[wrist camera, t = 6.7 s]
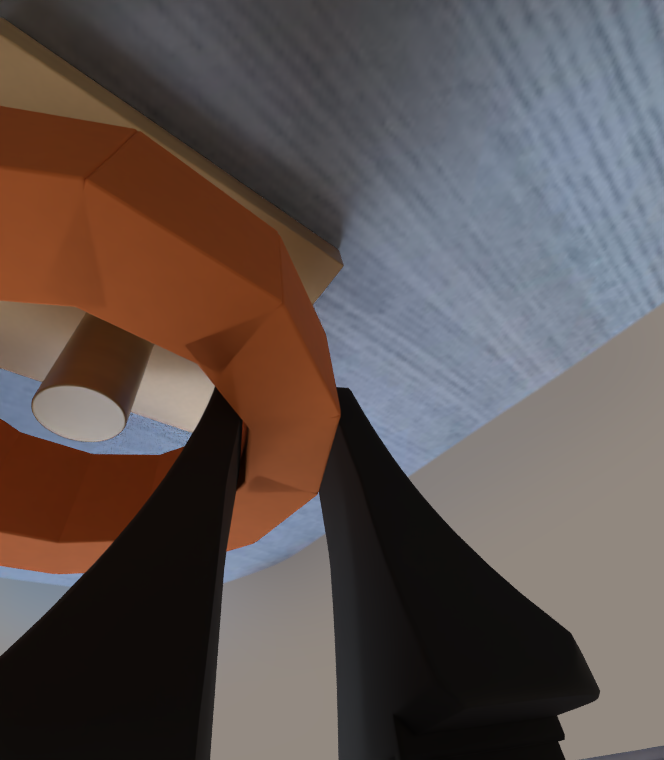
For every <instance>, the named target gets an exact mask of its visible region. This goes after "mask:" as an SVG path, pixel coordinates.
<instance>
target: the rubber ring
mask: <svg viewBox="0 0 664 760" xmlns="http://www.w3.org/2000/svg"><path fill="white" fill-rule="evenodd" d="M0 301H9V302H22V303H34V304H46V305H59V306H71V307H77V308H79V309H81V310H83V311H85V312H87V313H89V314H92V315H94V316H96V317H98V318H100V319H102V320H104V321H106V322H109V323H111V324H113V325H115V326H117V327H119V328H121V329H124V330H126V331H128V332H130V333H132V334H134V335H136V336H138V337H141V338H143V339H145V340H147V341H149V342H151V343H153V344H156V345H158V346H160V347H162V348H164V349H166V350H168V351H170V352H173V353H175V354H177V355H179V356H181V357H183V358H185V359H188V360H190V361H192V362H194V363H196V364H198V366H199V367H200V368H201V369H202V371H203V372H204V373H205V374H206V376H207V377H208V378H209V379H210V381H211V382H212V383H213V384H214V386H215V387H216V388H217V389H218V390H219V392H220V393H221V394H222V395H223V397H224V398H225V399H226V400H227V402H228V403H229V404H230V405H231V407H232V408H233V409H234V410H235V412H236V413H237V414H238V415H239V417H240V418H241V419H242V420H243V424H242V440H241V456H240V470H239V476H238V482H237V489H236V496H235V502H234V508H233V514H232V520H231V526H230V532H229V538H228V544H227V550H226V551H230V550H233V549H237V548H240V547H243V546H247V545H250V544H253V543H255V542H257V541H258V540H259V539H261V538H262V537H263V536H264V535H266V534H267V533H268V532H270V531H271V530H272V529H273V528H275V527H276V526H277V525H279V524H280V523H281V522H283V521H284V520H285V519H286V518H288V517H289V516H290V515H292V514H293V513H294V512H295V511H297V510H298V509H299V508H301V507H302V506H303V505H304V504H306V503H307V502H308V501H310V500H311V499H312V498H314V497H315V496H316V495H317V494H318V492H319V489H320V485H321V482H322V478H323V475H324V471H325V468H326V464H327V461H328V457H329V454H330V451H331V447H332V444H333V440H334V437H335V433H336V430H337V426H338V423H339V420H340V416H341V414H340V413H341V410H340V405H339V400H338V394H337V389H336V384H335V379H334V374H333V368H332V363H331V358H330V353H329V348H328V342H327V337H326V334H325V331H324V329H323V327H322V325H321V323H320V321H319V318H318V316H317V314H316V312H315V310H314V308H313V305H312V303H311V301H310V299H309V297H308V295H307V292H306V290H305V288H304V286H303V284H302V282H301V279H300V277H299V275H298V273H297V271H296V269H295V266H294V264H293V262H292V260H291V258H290V256H289V253H288V251H287V249H286V247H285V245H284V242H283V240H282V238H281V236H280V235H279V234H278V232H277V231H276V230H275V229H274V228H272V227H271V226H270V225H268V224H267V223H266V222H264V221H263V220H261V219H260V218H259V217H257V216H256V215H255V214H253V213H252V212H251V211H249V210H248V209H246V208H245V207H244V206H242V205H241V204H240V203H238V202H237V201H235V200H234V199H233V198H231V197H230V196H229V195H227V194H226V193H225V192H223V191H222V190H220V189H219V188H218V187H216V186H215V185H214V184H212V183H211V182H210V181H208V180H207V179H205V178H204V177H203V176H201V175H200V174H199V173H197V172H196V171H195V170H193V169H192V168H190V167H189V166H188V165H186V164H185V163H184V162H182V161H181V160H180V159H178V158H177V157H175V156H174V155H173V154H171V153H170V152H169V151H167V150H166V149H164V148H163V147H162V146H160V145H159V144H158V143H156V142H155V141H154V140H152V139H151V138H149V137H148V136H147V135H145V134H144V133H143V132H141V131H137V130H136V129H133V128H127V127H122V126H116V125H110V124H104V123H98V122H92V121H87V120H81V119H75V118H69V117H63V116H57V115H51V114H46V113H40V112H34V111H28V110H22V109H16V108H11V107H5V106H0ZM184 447H185V446H184ZM184 447H181V448H179V449H176V450H173V451H170V452H167V453H164V454H161V455H117V454H90V453H87V452H84V451H80V450H77V449H74V448H71V447H67V446H64V445H61V444H57V443H54V442H51V441H47V440H44V439H41V438H37V437H34V436H31V435H27V434H24V433H21V432H19V431H18V430H16V429H15V428H14V427H12V426H11V425H9V424H8V423H6V422H5V421H3V420H2V419H0V566H5V567H12V568H18V569H25V570H32V571H38V572H45V573H52V574H56V573H57V574H72V573H85V572H86V571H87V570H88V569H89V568H90V567H91V566H92V565H93V564H94V563H95V562H96V561H97V560H98V559H99V557H100V556H101V555H102V554H103V553H104V552H105V551H106V550H107V549H108V547H109V546H110V545H111V544H112V543H113V542H114V540H115V539H116V538H117V537H118V536H119V535H120V533H121V532H122V531H123V530H124V529H125V527H126V526H127V525H128V524H129V523H130V522H131V520H132V519H133V518H134V517H135V516H136V514H137V513H138V512H139V510H140V509H141V508H142V507H143V505H144V504H145V503H146V502H147V500H148V499H149V498H150V496H151V495H152V494H153V492H154V491H155V490H156V488H157V487H158V485H159V484H160V483H161V481H162V480H163V479H164V477H165V476H166V474H167V473H168V471H169V470H170V468H171V467H172V465H173V464H174V462H175V461H176V459H177V458H178V456H179V455H180V453H181V452H182V450H183V448H184Z"/></svg>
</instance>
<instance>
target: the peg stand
mask: <svg viewBox="0 0 664 760" xmlns="http://www.w3.org/2000/svg"><path fill="white" fill-rule="evenodd" d="M0 106H5V107H11V108H16V109H22V110H28V111H34V112H40V113H46V114H51V115H57V116H63V117H69V118H75V119H81V120H87V121H92V122H98V123H104V124H110V125H116V126H122V127H127V128H133V129H136V130H137V131H141V132H143V133H144V134H145V135H147V136H148V137H149V138H151V139H152V140H154V141H155V142H156V143H158V144H159V145H160V146H162V147H163V148H164V149H166V150H167V151H169V152H170V153H171V154H173V155H174V156H175V157H177V158H178V159H180V160H181V161H182V162H184V163H185V164H186V165H188V166H189V167H190V168H192V169H193V170H195V171H196V172H197V173H199V174H200V175H201V176H203V177H204V178H205V179H207V180H208V181H210V182H211V183H212V184H214V185H215V186H216V187H218V188H219V189H220V190H222V191H223V192H225V193H226V194H227V195H229V196H230V197H231V198H233V199H234V200H235V201H237V202H238V203H240V204H241V205H242V206H244V207H245V208H246V209H248V210H249V211H251V212H252V213H253V214H255V215H256V216H257V217H259V218H260V219H261V220H263V221H264V222H266V223H267V224H268V225H270V226H271V227H272V228H274V229H275V230H276V231H277V232H278V234H279V235H280V236H281V238H282V240H283V242H284V245H285V247H286V249H287V251H288V253H289V256H290V258H291V260H292V262H293V264H294V266H295V269H296V271H297V273H298V275H299V277H300V279H301V282H302V284H303V286H304V288H305V290H306V292H307V295H308V297H309V299H310V301H311V303H312V305H313V304H314V303H315V301H316V300H317V299H318V298H319V296H320V295H321V294H322V293H323V291H324V290H325V289H326V288H327V286H328V285H329V284H330V282H331V281H332V280H333V279H334V277H335V276H336V275H337V274H338V272H339V271H340V270H341V269H342V267H343V261H342V258H341V255H340V252H339V250H338V249H336V248H335V247H334V246H332V245H331V244H329V243H328V242H326V241H325V240H323V239H322V238H321V237H319V236H318V235H316V234H315V233H313V232H312V231H310V230H309V229H308V228H306V227H305V226H303V225H302V224H300V223H299V222H297V221H296V220H295V219H293V218H292V217H290V216H289V215H287V214H286V213H284V212H283V211H281V210H280V209H279V208H277V207H276V206H274V205H273V204H271V203H270V202H268V201H267V200H266V199H264V198H263V197H261V196H260V195H258V194H257V193H255V192H254V191H253V190H251V189H250V188H248V187H247V186H245V185H244V184H242V183H241V182H240V181H238V180H237V179H235V178H234V177H232V176H231V175H229V174H228V173H227V172H225V171H224V170H222V169H221V168H219V167H218V166H216V165H215V164H214V163H212V162H211V161H209V160H208V159H206V158H205V157H203V156H202V155H200V154H199V153H198V152H196V151H195V150H193V149H192V148H190V147H189V146H187V145H186V144H185V143H183V142H182V141H180V140H179V139H177V138H176V137H174V136H173V135H172V134H170V133H169V132H167V131H166V130H164V129H163V128H161V127H160V126H159V125H157V124H156V123H154V122H153V121H151V120H150V119H148V118H147V117H146V116H144V115H143V114H141V113H140V112H138V111H137V110H135V109H134V108H132V107H131V106H130V105H128V104H127V103H125V102H124V101H122V100H121V99H119V98H118V97H117V96H115V95H114V94H112V93H111V92H109V91H108V90H106V89H105V88H104V87H102V86H101V85H99V84H98V83H96V82H95V81H93V80H92V79H91V78H89V77H88V76H86V75H85V74H83V73H82V72H80V71H79V70H78V69H76V68H75V67H73V66H72V65H70V64H69V63H67V62H66V61H64V60H63V59H62V58H60V57H59V56H57V55H56V54H54V53H53V52H51V51H50V50H49V49H47V48H46V47H44V46H43V45H41V44H40V43H38V42H37V41H36V40H34V39H33V38H31V37H30V36H28V35H27V34H25V33H24V32H23V31H21V30H20V29H18V28H17V27H15V26H14V25H12V24H11V23H10V22H8V21H7V20H5V19H4V18H0ZM0 368H1V369H4V370H7V371H10V372H13V373H16V374H19V375H22V376H25V377H28V378H31V379H34V380H37V381H40V382H42V384H41V385H40V387H39V389H38V390H37V392H36V393H35V395H34V397H33V399H32V404H31V407H32V412H33V414H34V416H35V418H36V419H37V420H38V421H39V423H40V424H42V425H43V426H44V427H45V428H47V429H48V430H50V431H51V432H53V433H55V434H57V435H59V436H62V437H65V438H68V439H71V440H76V441H83V442H99V441H104V440H108V439H111V438H113V437H115V436H117V435H118V434H120V433H121V432H122V431H123V429H124V428H125V426H126V423H127V421H128V418H129V415H130V412H132V413H135V414H138V415H141V416H144V417H147V418H150V419H153V420H156V421H159V422H162V423H165V424H167V425H170V426H173V427H176V428H179V429H182V430H185V431H188V432H191V433H193V431H194V430H195V428H196V426H197V424H198V423H199V421H200V419H201V417H202V415H203V413H204V411H205V409H206V407H207V405H208V403H209V400H210V398H211V396H212V393H213V390H214V387H215V386H214V384H213V383H212V382H211V381H210V379H209V378H208V377H207V376H206V374H205V373H204V372H203V371H202V369H201V368H200V367H199V366H198V364H196V363H194V362H192V361H190V360H188V359H185V358H183V357H181V356H179V355H177V354H175V353H173V352H170V351H168V350H166V349H164V348H162V347H160V346H158V345H156V344H153V343H151V342H149V341H147V340H145V339H143V338H141V337H138V336H136V335H134V334H132V333H130V332H128V331H126V330H124V329H121V328H119V327H117V326H115V325H113V324H111V323H109V322H106V321H104V320H102V319H100V318H98V317H96V316H94V315H92V314H89V313H87V312H85V311H83V310H81V309H79V308H77V307H71V306H59V305H46V304H34V303H22V302H9V301H0Z"/></svg>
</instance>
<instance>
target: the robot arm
mask: <svg viewBox="0 0 664 760" xmlns="http://www.w3.org/2000/svg"><path fill="white" fill-rule="evenodd" d="M336 389H337V394H338V400H339V405H340V410H341V413H340V414H341V416H340V420H339V423H338V426H337V430H336V433H335V437H334V440H333V444H332V447H331V451H330V454H329V457H328V461H327V464H326V468H325V471H324V475H323V478H322V482H321V485H320V489H319V495H320V501H321V507H322V514H323V520H324V526H325V532H326V537H327V544H328V551H329V559H330V568H331V583H332V597H333V614H334V632H335V653H336V675H337V706H338V707H337V709H338V753H339V754H338V755H339V760H565V758H564V755H563V753H562V750H561V748H560V745H559V743H558V741H562V740H564V739H565V734H564V732H563V729H562V727H561V724H560V722H559V720H558V717H557V715H559V714H562V713H565V712H568V711H570V710H573V709H576V708H578V707H581V706H584V705H586V704H589V703H591V702H593V701H595V700H596V699H598V697H599V694H600V690H599V687H598V685H597V683H596V681H595V679H594V677H593V675H592V673H591V671H590V669H589V667H588V665H587V663H586V661H585V658H584V656H583V654H582V653H581V651H580V649H579V647H578V645H577V644H576V641H575V640H574V638H573V636H572V634H571V633H570V632H569V631H568V630H566V629H565V628H564V627H563V626H561V625H560V624H559V623H557V622H556V621H555V620H554V619H552V618H551V617H550V616H549V615H548V614H546V613H545V612H544V611H543V610H541V609H540V608H539V607H537V606H536V605H535V604H534V603H532V602H531V601H530V600H529V599H527V598H526V597H525V596H524V595H522V594H521V593H520V592H519V591H518V590H517V589H515V588H514V587H513V586H512V585H511V584H510V583H509V582H507V581H506V580H505V579H504V578H503V577H502V576H500V575H499V574H498V573H497V572H496V571H495V570H494V569H493V568H491V567H490V566H489V565H488V564H487V563H486V562H485V561H484V560H483V559H482V558H481V557H480V556H479V555H478V554H477V553H476V552H475V551H474V550H473V549H472V548H471V547H470V546H469V545H468V544H467V543H465V541H464V540H463V539H461V538H460V537H459V536H458V535H457V534H456V533H455V532H454V531H453V530H452V528H451V527H450V526H449V525H448V524H447V523H446V522H445V521H444V520H443V519H442V518H441V517H440V516H439V514H438V513H437V512H436V511H435V510H434V509H433V508H432V506H431V505H430V504H429V503H428V502H427V501H426V500H425V498H424V497H423V496H422V495H421V494H420V492H419V491H418V490H417V489H416V488H415V486H414V485H413V484H412V482H411V481H410V480H409V478H408V477H407V476H406V474H405V473H404V472H403V471H402V469H401V468H400V467H399V465H398V464H397V462H396V461H395V460H394V458H393V457H392V455H391V454H390V452H389V451H388V450H387V448H386V447H385V445H384V444H383V442H382V441H381V439H380V438H379V436H378V435H377V433H376V432H375V430H374V428H373V427H372V425H371V424H370V422H369V420H368V419H367V417H366V416H365V414H364V412H363V411H362V409H361V407H360V405H359V404H358V402H357V400H356V399H355V397H354V395H353V393H352V391H351V390H350V389H349V388H340V387H336ZM242 424H243V420H242V419H241V418H240V417H239V415H238V414H237V413H236V412H235V410H234V409H233V408H232V407H231V405H230V404H229V403H228V402H227V400H226V399H225V398H224V397H223V395H222V394H221V393H220V392H219V390H218V389H217V388H216V387H214V390H213V393H212V396H211V398H210V400H209V403H208V405H207V407H206V409H205V411H204V413H203V415H202V417H201V419H200V421H199V423H198V424H197V426H196V428H195V430H194V431H193V433H192V435H191V437H190V438H189V440H188V442H187V444H186V445H185V447H184V448H183V450H182V452H181V453H180V455H179V456H178V458H177V459H176V461H175V462H174V464H173V465H172V467H171V468H170V470H169V471H168V473H167V474H166V476H165V477H164V479H163V480H162V481H161V483H160V484H159V485H158V487H157V488H156V490H155V491H154V492H153V494H152V495H151V496H150V498H149V499H148V500H147V502H146V503H145V504H144V505H143V507H142V508H141V509H140V510H139V512H138V513H137V514H136V516H135V517H134V518H133V519H132V520H131V522H130V523H129V524H128V525H127V526H126V527H125V529H124V530H123V531H122V532H121V533H120V535H119V536H118V537H117V538H116V539H115V540H114V542H113V543H112V544H111V545H110V546H109V547H108V549H107V550H106V551H105V552H104V553H103V554H102V555H101V556H100V557H99V559H98V560H97V561H96V562H95V563H94V564H93V565H92V566H91V567H90V568H89V569H88V570H87V571H86V572H85V573H84V574H83V575H82V577H81V578H80V579H79V580H78V581H77V582H76V583H75V584H74V585H73V586H72V587H71V588H70V589H69V590H68V591H67V592H66V593H65V594H64V595H63V596H62V597H61V599H59V600H58V602H57V603H56V604H55V605H54V606H53V607H52V608H51V609H50V610H49V611H48V612H47V613H46V614H45V615H44V616H43V617H42V618H41V619H40V620H39V621H37V622H36V623H35V624H34V625H33V626H32V627H31V628H30V629H29V630H28V631H27V632H26V633H25V634H24V635H23V636H22V637H20V638H19V639H18V640H17V641H16V642H15V643H14V644H13V645H12V646H11V647H10V648H9V649H8V650H7V651H6V652H5V653H4V654H2V655H1V656H0V760H210V751H211V738H212V724H213V710H214V696H215V682H216V669H217V656H218V642H219V629H220V616H221V603H222V602H221V601H222V590H223V577H224V566H225V558H226V550H227V544H228V538H229V532H230V526H231V520H232V514H233V508H234V502H235V496H236V489H237V482H238V476H239V470H240V456H241V440H242ZM581 760H664V746H658V747H652V748H647V749H642V750H636V751H630V752H623V753H617V754H611V755H605V756H599V757H593V758H587V759H581Z"/></svg>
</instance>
